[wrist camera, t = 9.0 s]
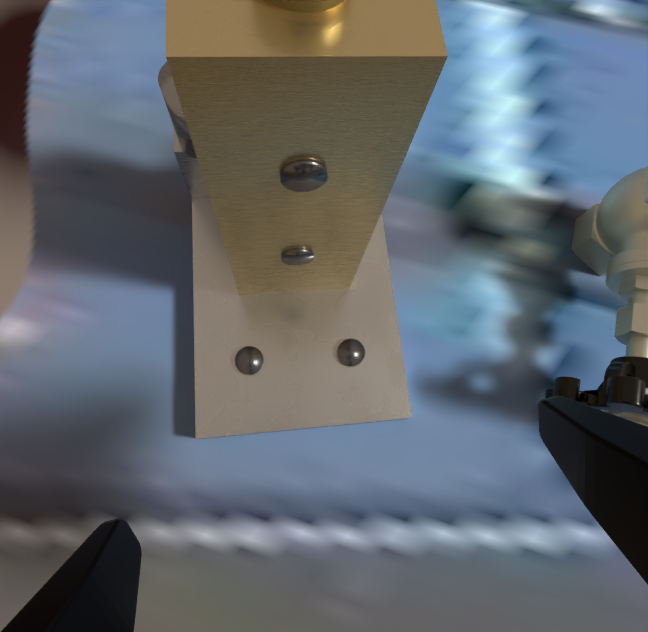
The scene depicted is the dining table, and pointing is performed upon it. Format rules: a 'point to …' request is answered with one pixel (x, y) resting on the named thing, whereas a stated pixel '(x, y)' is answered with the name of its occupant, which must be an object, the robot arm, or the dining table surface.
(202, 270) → the fixed leaf
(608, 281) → the valve
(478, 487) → the dining table surface
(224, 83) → the loose leaf
